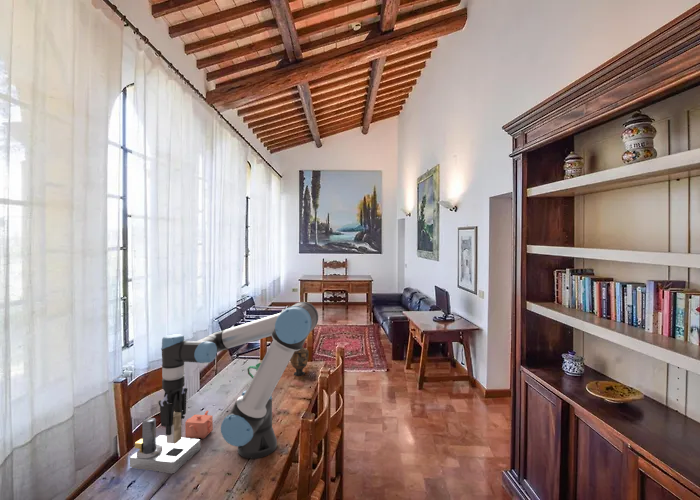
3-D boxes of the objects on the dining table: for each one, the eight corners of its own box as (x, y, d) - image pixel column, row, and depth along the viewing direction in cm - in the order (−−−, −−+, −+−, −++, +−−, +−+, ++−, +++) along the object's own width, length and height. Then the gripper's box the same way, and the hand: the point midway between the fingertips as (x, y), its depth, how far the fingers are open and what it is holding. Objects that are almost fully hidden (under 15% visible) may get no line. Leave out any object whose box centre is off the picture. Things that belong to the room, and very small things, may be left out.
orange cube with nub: (220, 427, 166) (220, 408, 166) (203, 445, 151) (202, 425, 151) (196, 425, 168) (195, 407, 168) (176, 443, 153) (175, 423, 153)
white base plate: (200, 449, 148) (200, 439, 148) (173, 473, 133) (173, 462, 133) (160, 444, 152) (160, 435, 152) (129, 468, 136) (129, 457, 136)
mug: (273, 378, 226) (273, 361, 226) (271, 384, 216) (271, 367, 216) (249, 379, 225) (248, 362, 225) (245, 385, 215) (245, 368, 215)
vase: (307, 377, 228) (306, 328, 227) (287, 377, 228) (286, 328, 227) (309, 370, 239) (309, 323, 239) (290, 370, 240) (289, 324, 239)
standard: (167, 447, 142) (166, 416, 142) (151, 460, 134) (150, 427, 134) (146, 445, 144) (145, 414, 144) (129, 457, 136) (128, 424, 136)
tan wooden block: (173, 437, 141) (172, 411, 141) (181, 438, 141) (181, 412, 140) (166, 442, 138) (166, 415, 138) (175, 443, 137) (174, 416, 137)
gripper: (178, 368, 148) (179, 427, 148) (148, 384, 131) (149, 450, 132) (195, 370, 146) (196, 429, 147) (167, 385, 130) (168, 452, 130)
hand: (174, 439), depth 139 cm, fingers closed on tan wooden block, 3 cm apart
